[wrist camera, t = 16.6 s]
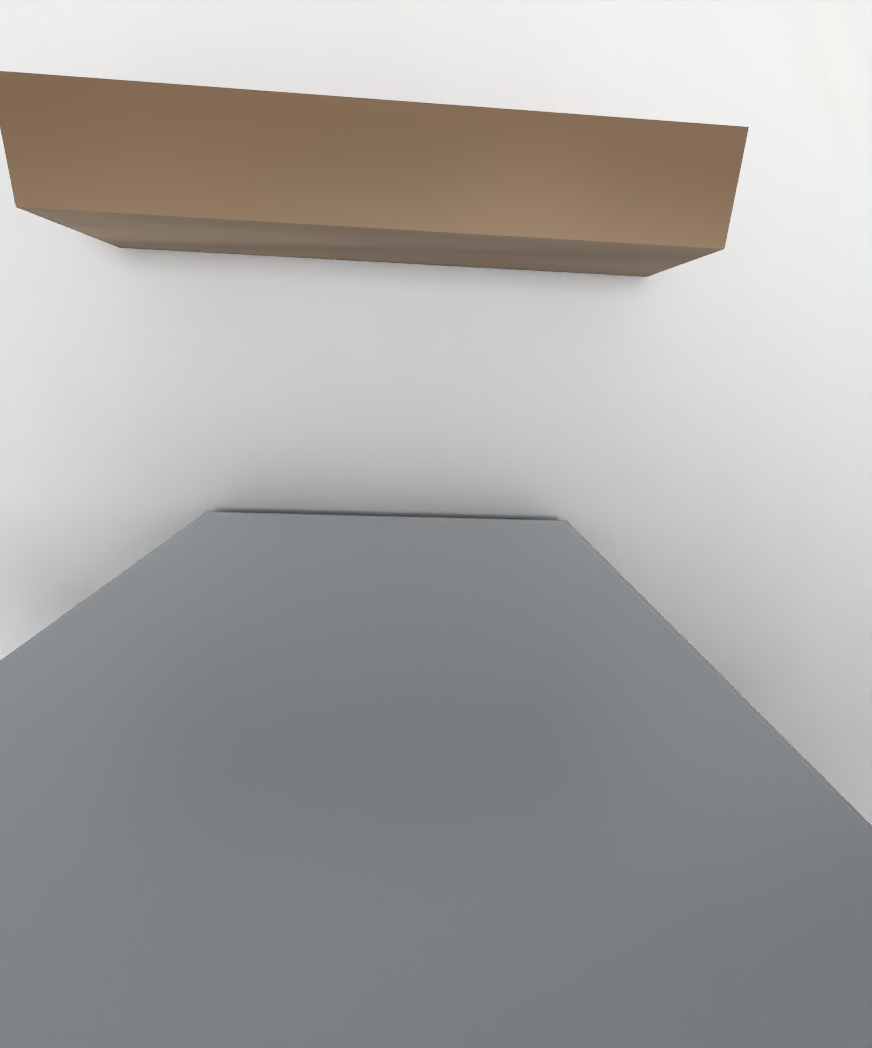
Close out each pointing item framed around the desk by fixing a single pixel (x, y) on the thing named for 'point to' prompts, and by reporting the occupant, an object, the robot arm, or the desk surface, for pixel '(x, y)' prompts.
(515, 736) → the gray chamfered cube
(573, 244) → the bar
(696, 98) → the desk surface
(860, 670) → the desk surface
